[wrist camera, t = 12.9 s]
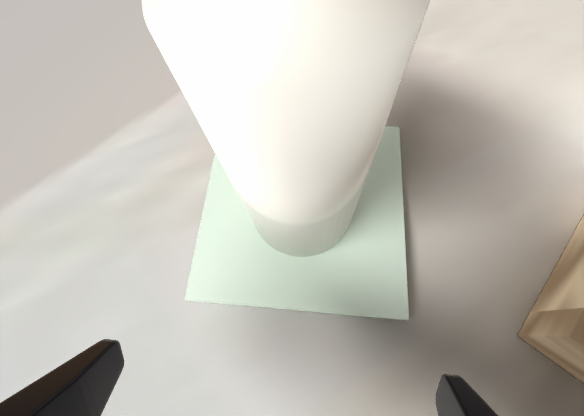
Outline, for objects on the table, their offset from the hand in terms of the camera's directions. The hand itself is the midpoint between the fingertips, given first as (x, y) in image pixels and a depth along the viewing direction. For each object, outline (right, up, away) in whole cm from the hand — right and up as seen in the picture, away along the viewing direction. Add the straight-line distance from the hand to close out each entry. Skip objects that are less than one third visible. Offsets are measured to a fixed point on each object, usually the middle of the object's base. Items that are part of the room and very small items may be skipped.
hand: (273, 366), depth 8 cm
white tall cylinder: (+1, +5, +10) cm, 12 cm away
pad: (+1, +4, +11) cm, 12 cm away
